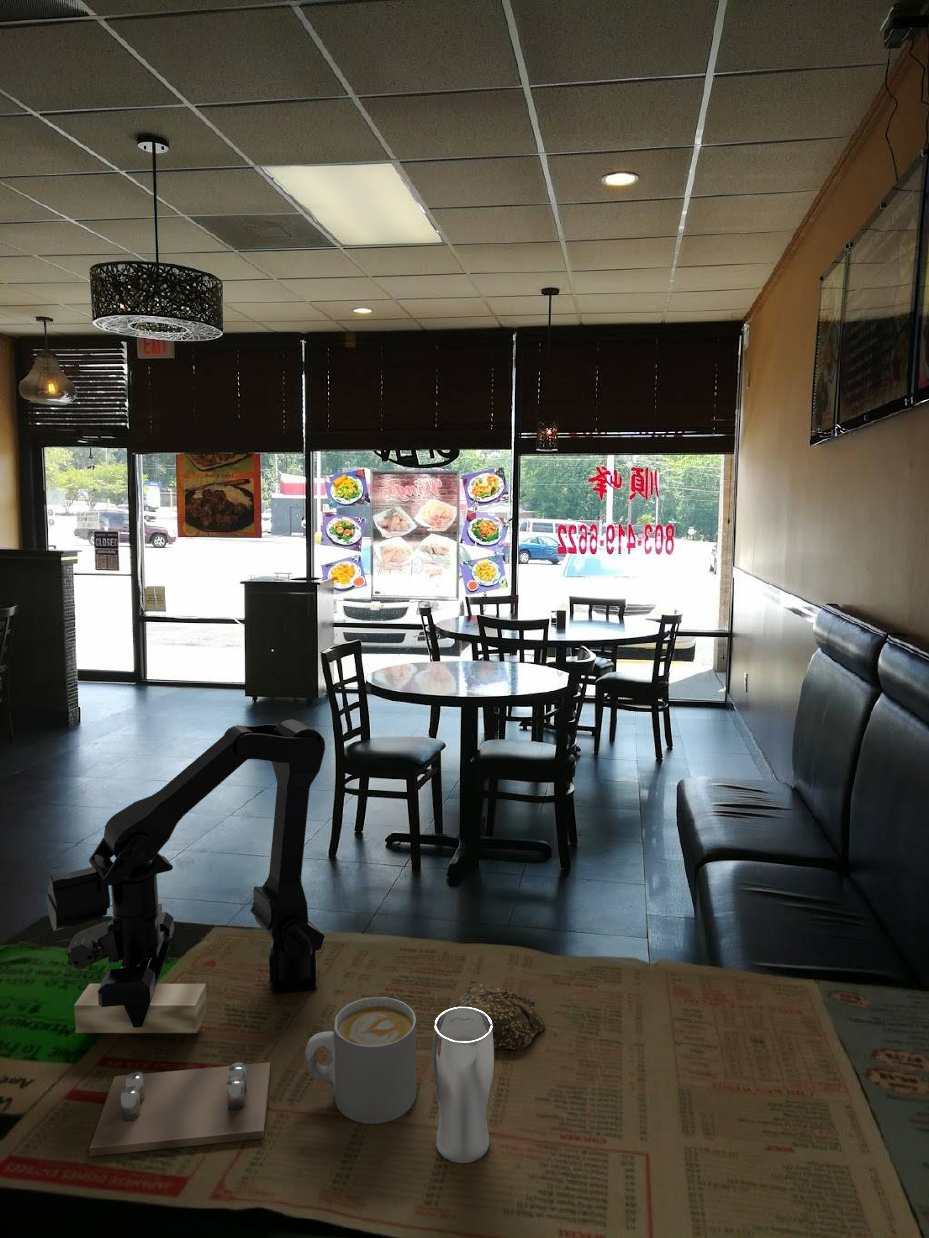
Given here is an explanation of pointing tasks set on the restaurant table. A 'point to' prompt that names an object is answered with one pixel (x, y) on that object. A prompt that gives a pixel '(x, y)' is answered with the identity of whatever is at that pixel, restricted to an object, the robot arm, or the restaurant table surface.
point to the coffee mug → (369, 1059)
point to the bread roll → (505, 1015)
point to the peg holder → (183, 1109)
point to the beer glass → (463, 1081)
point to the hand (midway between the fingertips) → (142, 1013)
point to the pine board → (166, 1013)
